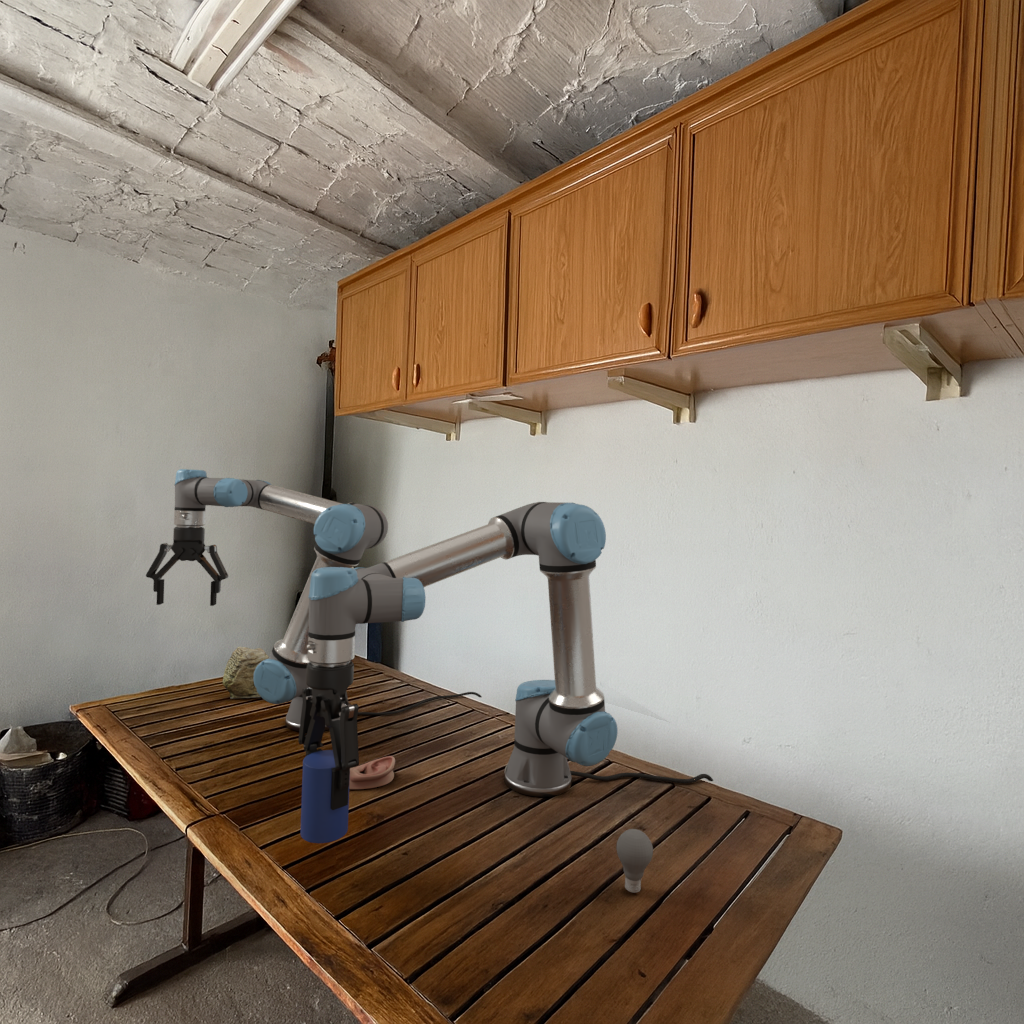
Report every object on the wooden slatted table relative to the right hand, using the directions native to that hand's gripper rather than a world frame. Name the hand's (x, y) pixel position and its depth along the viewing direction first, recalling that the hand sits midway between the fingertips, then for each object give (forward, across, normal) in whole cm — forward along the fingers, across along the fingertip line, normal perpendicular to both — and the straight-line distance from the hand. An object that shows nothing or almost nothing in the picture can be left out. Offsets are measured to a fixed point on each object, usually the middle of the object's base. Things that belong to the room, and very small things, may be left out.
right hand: (325, 797), depth 105 cm
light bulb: (+14, +38, +36) cm, 54 cm away
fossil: (+14, -99, +34) cm, 106 cm away
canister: (+6, 0, 0) cm, 6 cm away
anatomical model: (+14, -27, +26) cm, 40 cm away
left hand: (-19, -88, +9) cm, 91 cm away
